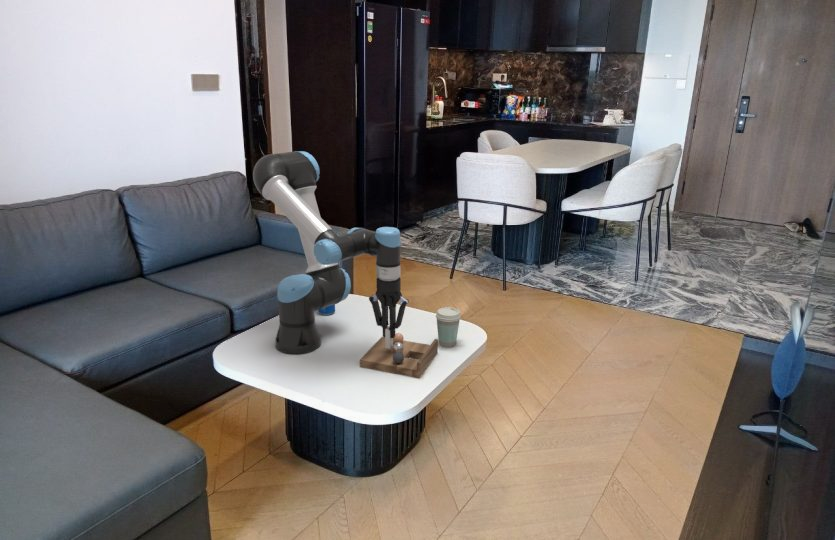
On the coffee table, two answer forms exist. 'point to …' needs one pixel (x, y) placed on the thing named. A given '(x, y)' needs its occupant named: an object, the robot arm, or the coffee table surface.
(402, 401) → the coffee table surface
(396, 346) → the steel ball
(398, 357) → the black ball
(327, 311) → the beverage can
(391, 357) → the wooden board
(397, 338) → the clay ball
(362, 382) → the coffee table surface
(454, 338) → the coffee cup
